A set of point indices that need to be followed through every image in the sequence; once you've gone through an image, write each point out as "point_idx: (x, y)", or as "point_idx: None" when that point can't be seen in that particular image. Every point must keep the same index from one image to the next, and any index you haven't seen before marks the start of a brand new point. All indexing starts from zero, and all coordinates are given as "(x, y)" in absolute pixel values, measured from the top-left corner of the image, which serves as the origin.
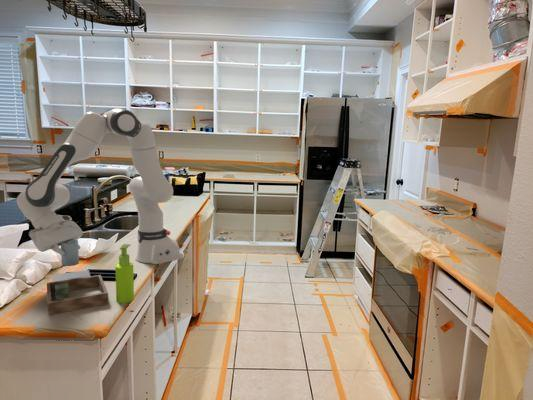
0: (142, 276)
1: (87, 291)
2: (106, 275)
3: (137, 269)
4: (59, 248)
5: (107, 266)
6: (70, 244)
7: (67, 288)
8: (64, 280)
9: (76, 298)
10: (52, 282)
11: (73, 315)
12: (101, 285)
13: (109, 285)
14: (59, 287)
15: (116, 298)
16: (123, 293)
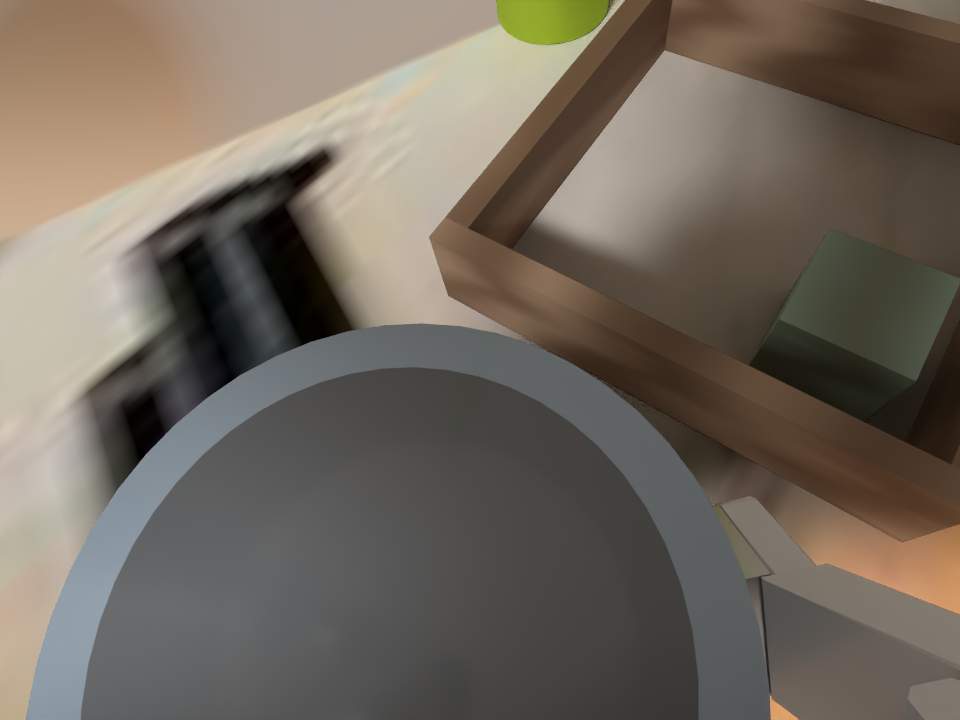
0: (176, 177)
1: (613, 271)
2: None
3: (42, 308)
4: (885, 609)
5: (21, 634)
6: (555, 371)
7: (833, 239)
8: (770, 402)
9: (896, 8)
10: (913, 466)
11: None
12: (592, 80)
13: (429, 231)
14: (903, 289)
15: (602, 1)
16: None
